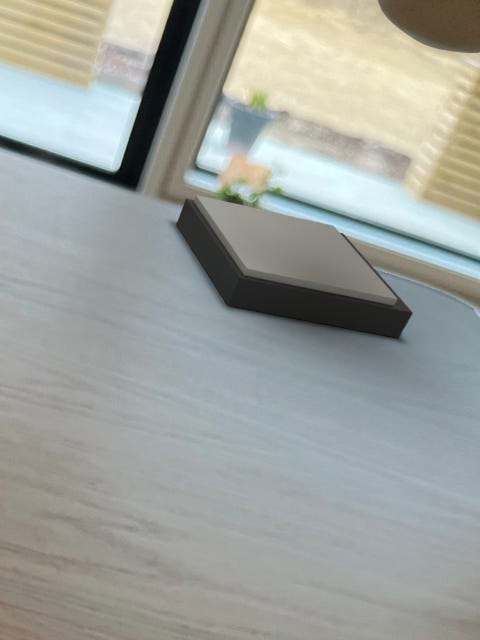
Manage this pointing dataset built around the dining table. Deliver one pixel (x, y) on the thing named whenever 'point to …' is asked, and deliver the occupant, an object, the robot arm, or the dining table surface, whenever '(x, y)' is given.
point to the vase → (438, 22)
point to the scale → (289, 267)
